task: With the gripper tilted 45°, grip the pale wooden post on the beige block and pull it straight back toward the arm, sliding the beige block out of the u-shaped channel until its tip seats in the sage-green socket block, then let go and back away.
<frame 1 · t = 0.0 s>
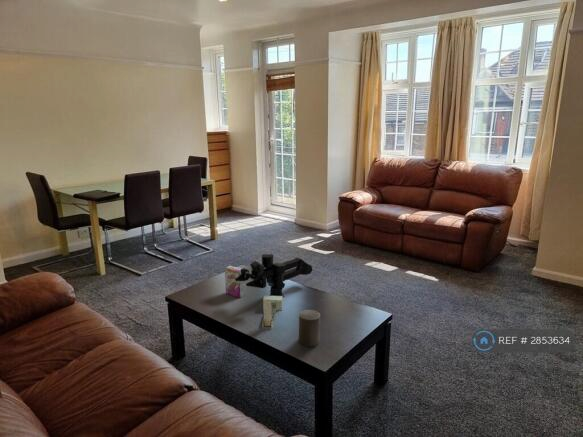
hand: (240, 282, 214), 17 cm above the table, tool horizontal, fingers open, 9 cm apart
pillar candle: (309, 341, 189), on the table
u-shaped channel: (269, 321, 207), on the table
socket block: (273, 308, 221), on the table
candy bar box: (235, 294, 238), on the table
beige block: (269, 308, 205), point 7 cm above the table, slide at 0.0 cm
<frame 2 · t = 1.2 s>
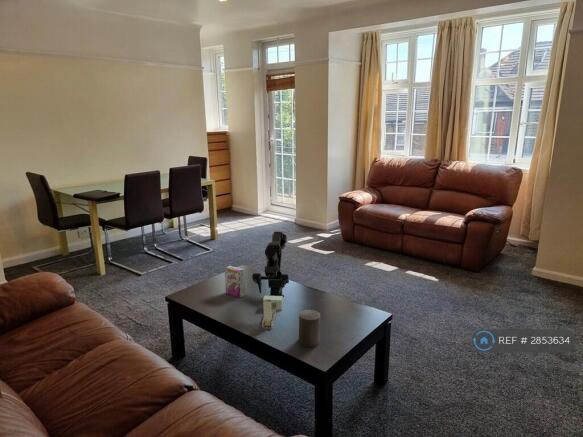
hand: (269, 293, 206), 14 cm above the table, tool tilted 45°, fingers open, 9 cm apart
nothing on the table moved.
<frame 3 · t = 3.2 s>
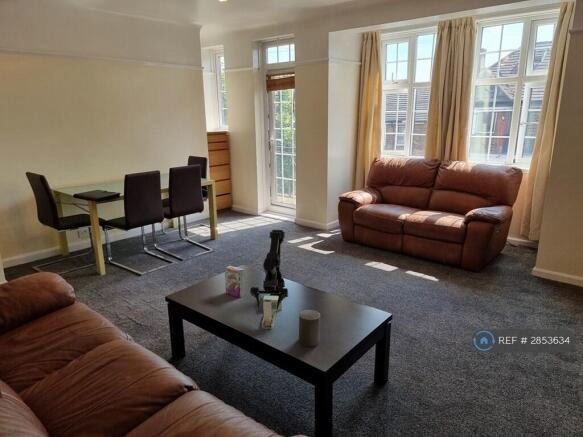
hand: (267, 308, 201), 9 cm above the table, tool tilted 45°, fingers open, 9 cm apart
nothing on the table moved.
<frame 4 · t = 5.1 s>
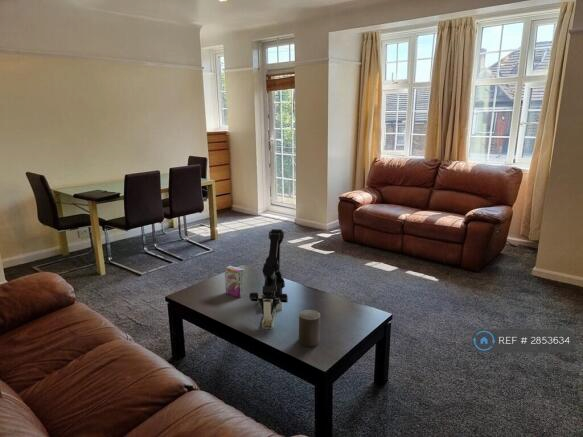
hand: (267, 314, 199), 7 cm above the table, tool tilted 45°, fingers closed on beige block, 3 cm apart
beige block: (269, 308, 205), point 7 cm above the table, slide at 0.0 cm, touching gripper
everything else where it was.
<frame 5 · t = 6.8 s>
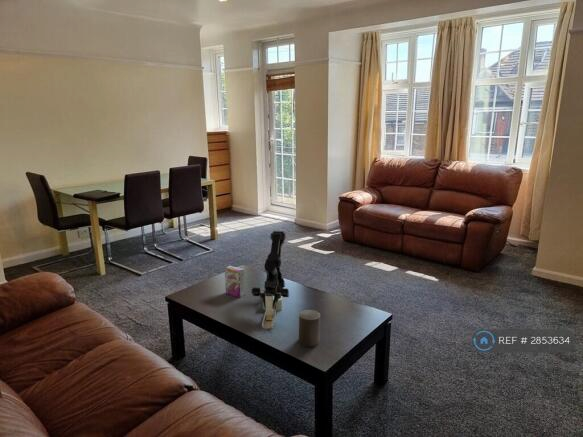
hand: (269, 308, 205), 7 cm above the table, tool tilted 45°, fingers closed on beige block, 3 cm apart
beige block: (270, 302, 211), point 7 cm above the table, slide at 6.2 cm, touching gripper
everything else where it was.
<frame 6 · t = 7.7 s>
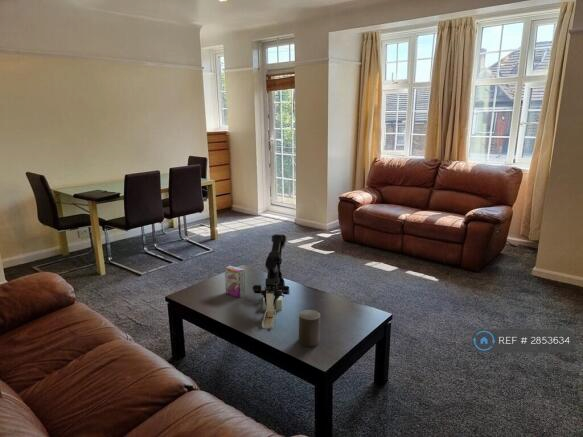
hand: (269, 305, 208), 7 cm above the table, tool tilted 45°, fingers closed on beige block, 3 cm apart
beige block: (271, 299, 214), point 7 cm above the table, slide at 9.4 cm, touching gripper
everything else where it was.
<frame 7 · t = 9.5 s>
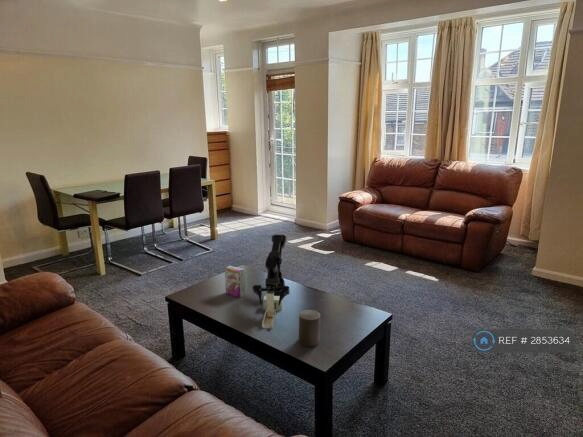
hand: (269, 305, 208), 7 cm above the table, tool tilted 45°, fingers open, 9 cm apart
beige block: (271, 299, 214), point 7 cm above the table, slide at 9.5 cm
everything else where it was.
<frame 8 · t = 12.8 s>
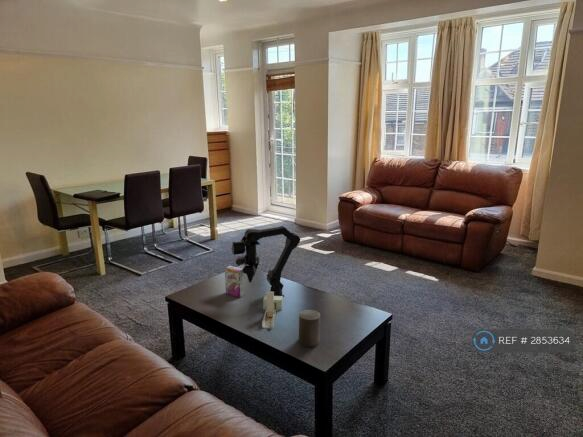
hand: (251, 278, 227), 13 cm above the table, tool pointing down, fingers open, 9 cm apart
nothing on the table moved.
at the end: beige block slide at 9.5 cm; the gripper is holding nothing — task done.
